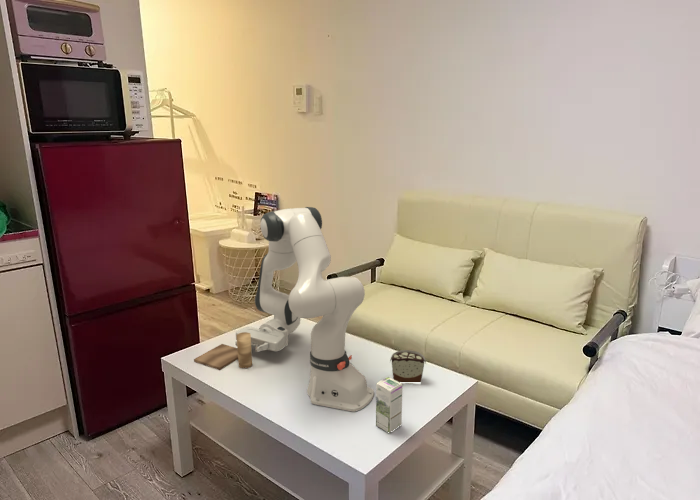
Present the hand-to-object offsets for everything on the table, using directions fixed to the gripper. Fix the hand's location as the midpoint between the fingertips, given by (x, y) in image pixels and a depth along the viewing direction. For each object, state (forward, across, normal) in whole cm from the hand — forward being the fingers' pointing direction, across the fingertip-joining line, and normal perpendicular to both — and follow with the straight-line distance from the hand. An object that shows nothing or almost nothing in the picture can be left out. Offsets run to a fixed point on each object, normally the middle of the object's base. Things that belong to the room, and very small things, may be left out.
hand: (246, 346), depth 186 cm
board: (+1, -12, +7) cm, 14 cm away
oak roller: (+1, 0, +7) cm, 7 cm away
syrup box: (+9, +62, +7) cm, 63 cm away
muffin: (-19, +56, +7) cm, 59 cm away
